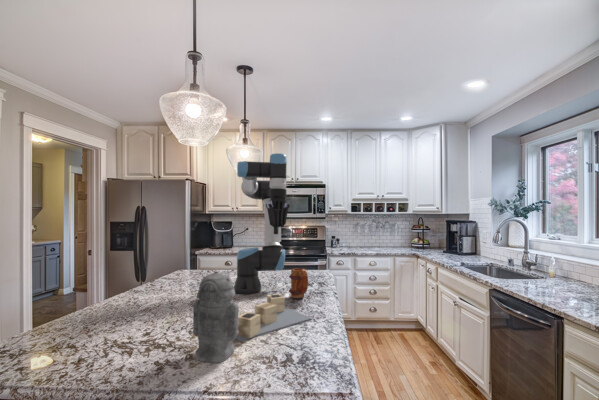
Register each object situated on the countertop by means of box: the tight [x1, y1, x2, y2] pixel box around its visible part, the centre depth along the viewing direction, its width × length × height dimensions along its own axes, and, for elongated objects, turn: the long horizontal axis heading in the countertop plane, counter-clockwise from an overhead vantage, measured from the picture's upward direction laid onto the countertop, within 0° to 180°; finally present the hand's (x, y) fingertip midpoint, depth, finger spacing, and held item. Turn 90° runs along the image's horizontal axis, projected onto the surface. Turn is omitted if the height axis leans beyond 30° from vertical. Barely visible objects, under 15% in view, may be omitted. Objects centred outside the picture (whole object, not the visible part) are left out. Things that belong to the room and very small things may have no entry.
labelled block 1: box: [238, 311, 260, 339], centre depth 102 cm, size 6×6×6 cm
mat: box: [234, 306, 312, 342], centre depth 114 cm, size 20×32×1 cm, turn 129°
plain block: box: [254, 301, 277, 325], centre depth 114 cm, size 6×6×6 cm
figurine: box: [192, 270, 240, 364], centre depth 88 cm, size 10×14×25 cm
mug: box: [288, 267, 309, 299], centre depth 145 cm, size 15×8×15 cm, turn 25°
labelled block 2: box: [266, 293, 285, 312], centre depth 126 cm, size 6×6×6 cm
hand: (277, 241), depth 128 cm, fingers closed
